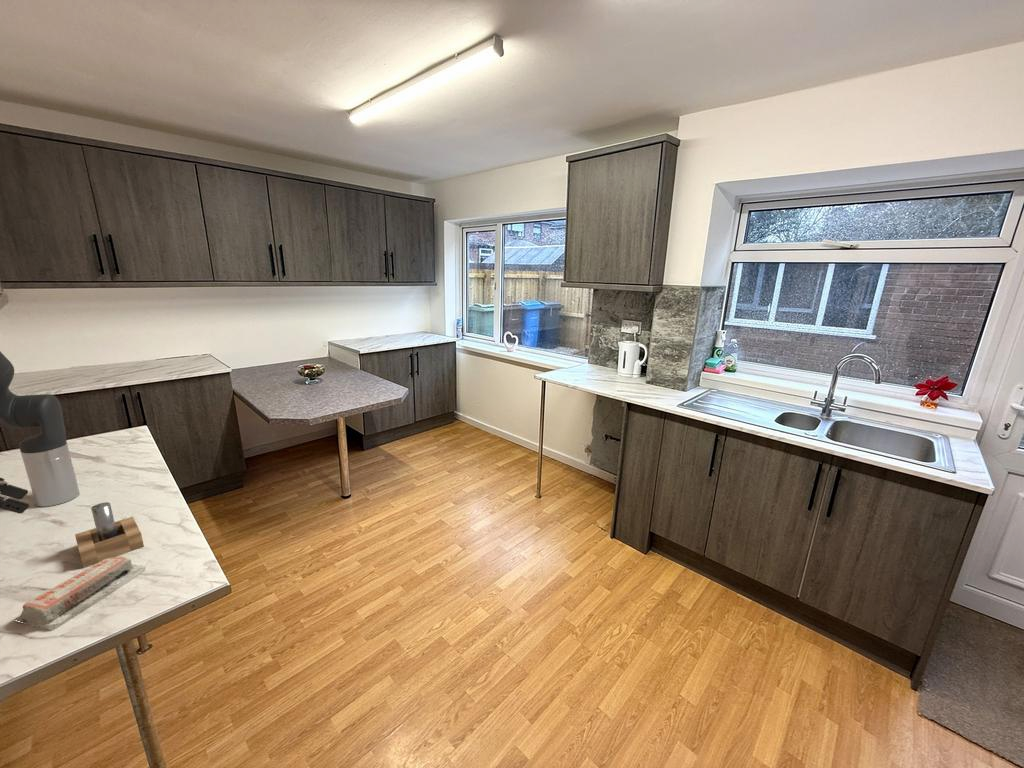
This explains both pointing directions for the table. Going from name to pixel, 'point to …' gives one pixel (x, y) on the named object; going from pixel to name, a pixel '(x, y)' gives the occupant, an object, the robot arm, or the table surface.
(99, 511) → the steel rod
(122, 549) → the wooden frame
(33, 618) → the packaged product
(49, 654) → the table surface
